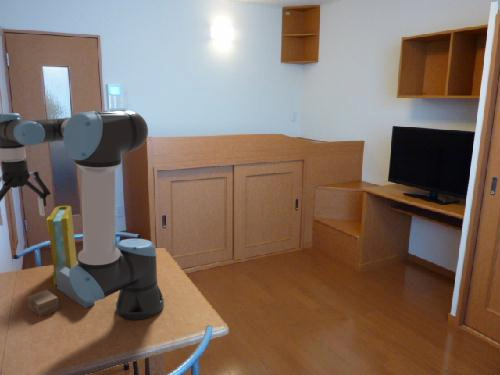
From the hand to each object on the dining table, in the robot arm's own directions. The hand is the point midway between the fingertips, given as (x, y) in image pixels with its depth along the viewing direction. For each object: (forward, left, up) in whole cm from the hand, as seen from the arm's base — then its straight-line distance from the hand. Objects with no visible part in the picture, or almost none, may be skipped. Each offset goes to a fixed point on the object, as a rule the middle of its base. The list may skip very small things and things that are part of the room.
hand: (22, 219), depth 141 cm
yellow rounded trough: (-1, -13, -25) cm, 28 cm away
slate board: (-20, -7, -25) cm, 33 cm away
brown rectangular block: (-20, +4, -25) cm, 32 cm away
